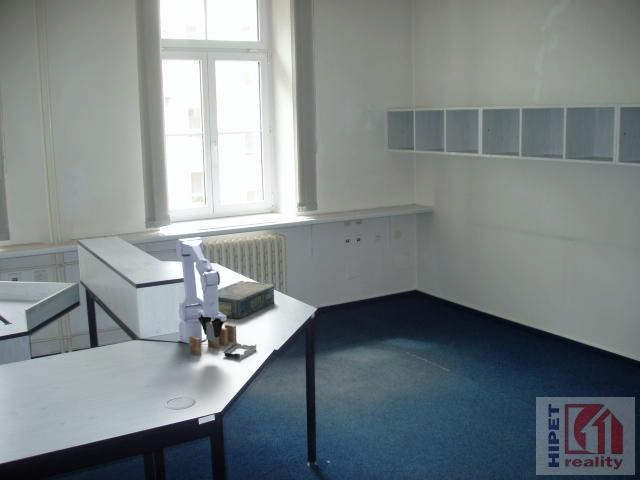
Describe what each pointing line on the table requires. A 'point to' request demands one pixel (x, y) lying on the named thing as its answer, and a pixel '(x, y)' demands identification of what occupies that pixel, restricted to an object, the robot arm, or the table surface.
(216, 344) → the domino
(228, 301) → the metal box
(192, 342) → the domino
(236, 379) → the table surface
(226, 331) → the domino
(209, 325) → the domino
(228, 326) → the domino
